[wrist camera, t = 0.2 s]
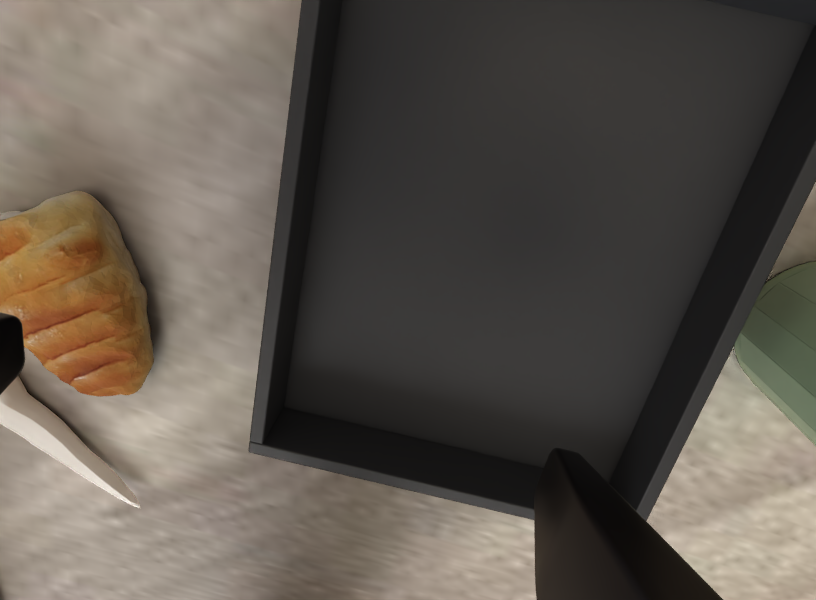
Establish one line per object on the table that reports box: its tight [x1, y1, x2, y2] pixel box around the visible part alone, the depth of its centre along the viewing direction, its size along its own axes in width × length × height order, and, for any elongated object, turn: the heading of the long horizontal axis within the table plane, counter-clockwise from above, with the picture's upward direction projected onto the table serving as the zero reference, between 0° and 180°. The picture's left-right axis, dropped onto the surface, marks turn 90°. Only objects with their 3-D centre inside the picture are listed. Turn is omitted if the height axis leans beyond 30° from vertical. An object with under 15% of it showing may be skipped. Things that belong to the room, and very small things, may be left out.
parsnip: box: [0, 376, 140, 508], centre depth 27 cm, size 15×3×2 cm, turn 43°
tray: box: [249, 0, 816, 521], centre depth 21 cm, size 21×17×4 cm
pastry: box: [0, 191, 154, 396], centre depth 23 cm, size 9×7×4 cm
